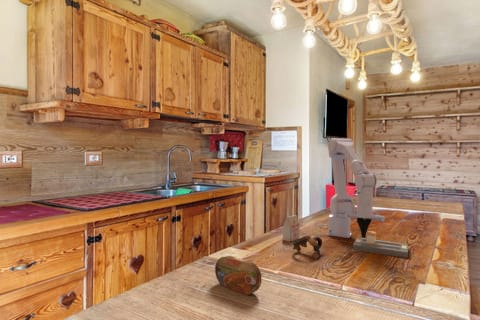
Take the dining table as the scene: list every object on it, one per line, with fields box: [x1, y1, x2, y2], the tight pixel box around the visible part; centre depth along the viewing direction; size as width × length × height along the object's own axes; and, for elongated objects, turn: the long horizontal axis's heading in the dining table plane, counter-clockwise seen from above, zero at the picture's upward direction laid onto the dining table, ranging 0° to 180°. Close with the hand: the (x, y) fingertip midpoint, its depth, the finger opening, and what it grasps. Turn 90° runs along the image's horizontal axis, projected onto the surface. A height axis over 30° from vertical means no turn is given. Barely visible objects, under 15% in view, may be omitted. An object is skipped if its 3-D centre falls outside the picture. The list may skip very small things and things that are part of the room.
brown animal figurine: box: [292, 234, 323, 260], centre depth 121 cm, size 12×10×8 cm
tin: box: [214, 255, 262, 296], centre depth 90 cm, size 15×3×8 cm, turn 50°
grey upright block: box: [282, 214, 301, 242], centre depth 140 cm, size 4×7×10 cm, turn 135°
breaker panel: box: [352, 236, 409, 259], centre depth 128 cm, size 19×12×3 cm, turn 64°
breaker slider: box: [366, 230, 377, 243], centre depth 130 cm, size 3×4×4 cm
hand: (363, 237), depth 131 cm, fingers closed
